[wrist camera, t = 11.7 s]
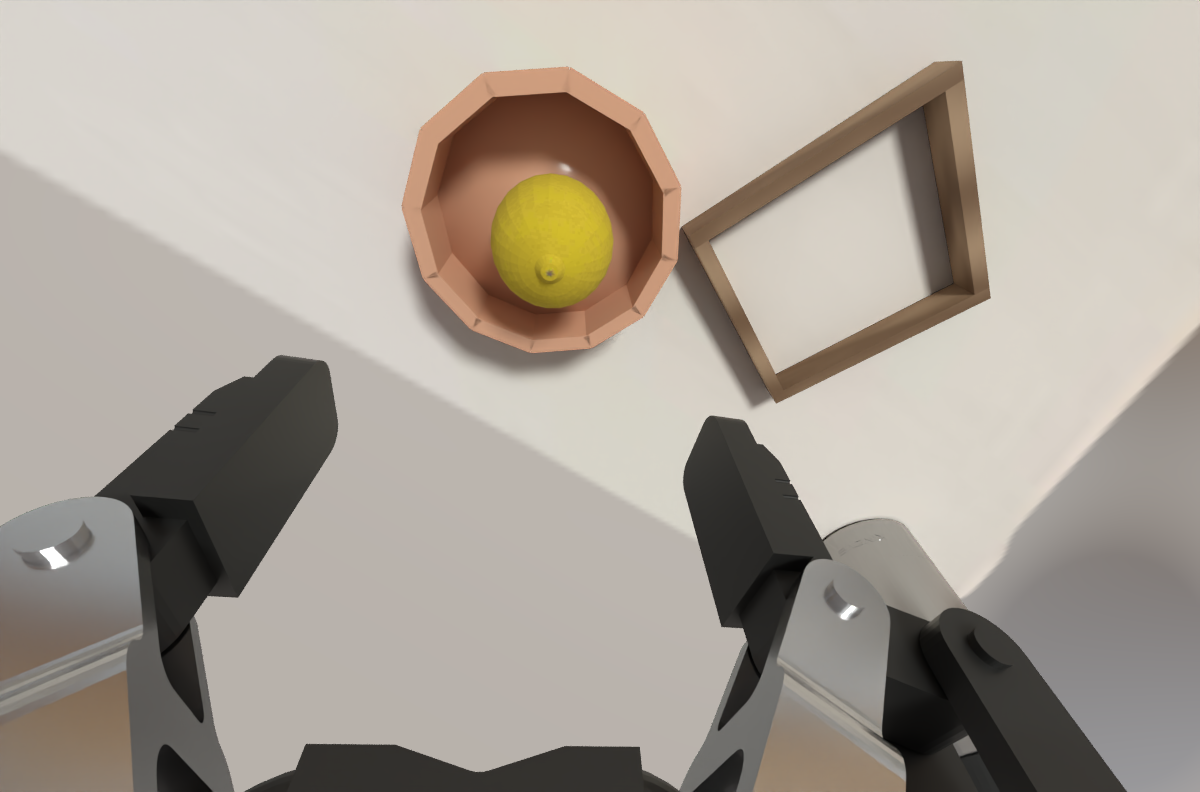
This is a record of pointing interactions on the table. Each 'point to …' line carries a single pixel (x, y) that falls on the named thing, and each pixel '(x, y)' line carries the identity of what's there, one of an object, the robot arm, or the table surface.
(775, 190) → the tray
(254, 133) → the table surface
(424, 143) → the bowl
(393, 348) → the table surface
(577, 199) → the lemon
